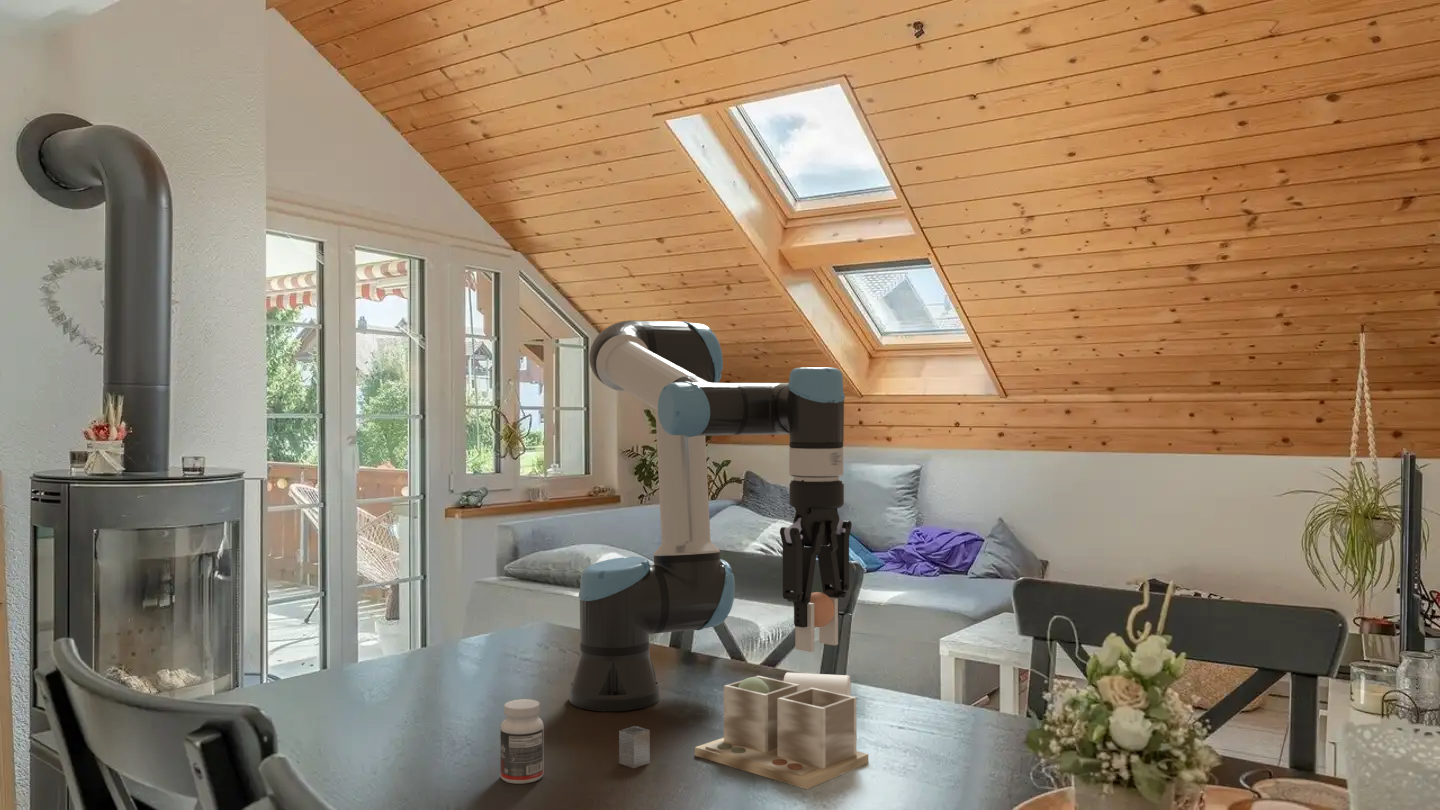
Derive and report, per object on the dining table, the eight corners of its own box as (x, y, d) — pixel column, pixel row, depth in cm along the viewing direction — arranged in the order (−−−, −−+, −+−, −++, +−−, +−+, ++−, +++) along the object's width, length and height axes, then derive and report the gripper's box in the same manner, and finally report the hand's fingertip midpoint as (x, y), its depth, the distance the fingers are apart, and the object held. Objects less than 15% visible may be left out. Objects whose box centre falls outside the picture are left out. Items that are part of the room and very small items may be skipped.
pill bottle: (503, 771, 149) (503, 698, 149) (545, 769, 149) (545, 697, 149) (498, 785, 143) (498, 710, 143) (541, 784, 143) (541, 709, 143)
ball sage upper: (740, 720, 158) (724, 692, 158) (758, 701, 162) (742, 673, 161) (763, 715, 155) (747, 686, 154) (781, 696, 158) (765, 668, 158)
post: (619, 763, 152) (619, 730, 152) (634, 758, 154) (634, 725, 154) (634, 768, 150) (634, 734, 150) (649, 763, 152) (649, 730, 152)
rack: (694, 755, 155) (694, 691, 155) (758, 733, 165) (758, 672, 165) (806, 789, 142) (806, 718, 142) (868, 762, 152) (868, 696, 152)
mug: (846, 735, 165) (846, 682, 165) (781, 731, 167) (781, 679, 167) (853, 713, 176) (853, 663, 176) (791, 709, 178) (791, 661, 178)
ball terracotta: (792, 627, 151) (792, 592, 151) (813, 622, 155) (813, 588, 155) (820, 632, 148) (820, 596, 148) (841, 626, 151) (841, 592, 151)
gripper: (798, 483, 142) (798, 662, 142) (875, 476, 155) (875, 640, 155) (754, 480, 147) (754, 653, 147) (832, 474, 160) (833, 633, 160)
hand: (816, 646), depth 151 cm, fingers closed on ball terracotta, 5 cm apart
